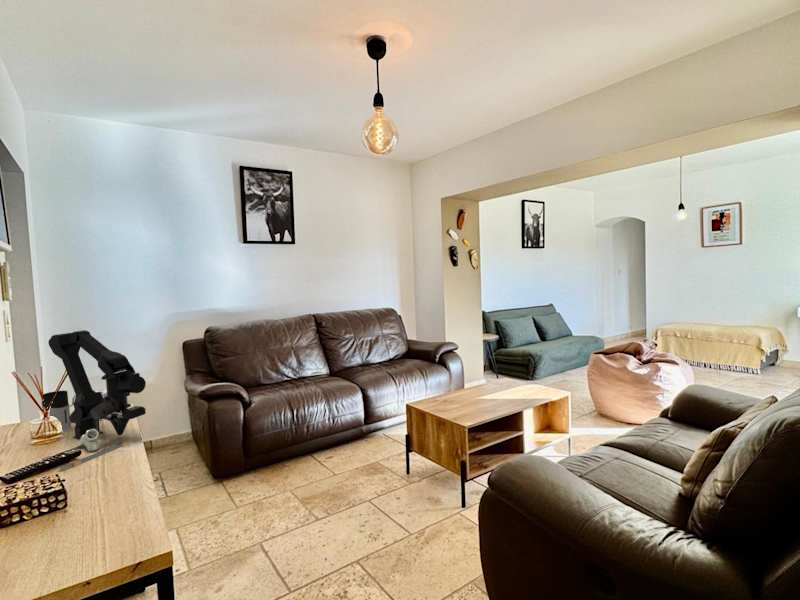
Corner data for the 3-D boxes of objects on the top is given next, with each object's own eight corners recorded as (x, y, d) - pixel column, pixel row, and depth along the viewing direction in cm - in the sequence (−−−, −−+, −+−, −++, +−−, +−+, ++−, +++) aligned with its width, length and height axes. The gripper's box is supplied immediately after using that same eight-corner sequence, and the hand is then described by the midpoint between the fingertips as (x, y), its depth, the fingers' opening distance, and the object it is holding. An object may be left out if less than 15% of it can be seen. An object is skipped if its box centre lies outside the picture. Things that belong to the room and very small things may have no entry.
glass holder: (49, 430, 158) (46, 391, 157) (93, 424, 162) (90, 387, 161) (37, 438, 149) (34, 397, 148) (83, 432, 153) (80, 393, 153)
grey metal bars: (93, 443, 142) (93, 438, 142) (123, 446, 138) (123, 441, 138) (31, 468, 124) (30, 463, 124) (63, 472, 120) (63, 467, 120)
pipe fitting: (103, 447, 135) (98, 427, 136) (88, 451, 132) (83, 431, 133) (96, 452, 139) (91, 433, 141) (82, 456, 136) (77, 437, 138)
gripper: (73, 397, 139) (77, 442, 140) (115, 399, 134) (118, 446, 135) (105, 388, 150) (108, 430, 151) (145, 390, 144) (148, 433, 145)
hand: (120, 435), depth 145 cm, fingers closed
